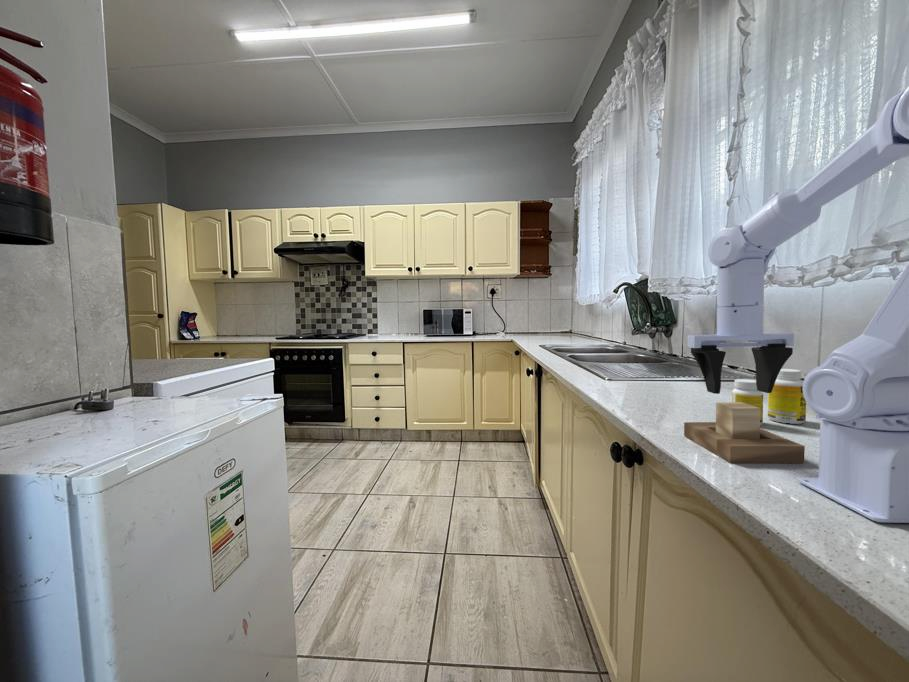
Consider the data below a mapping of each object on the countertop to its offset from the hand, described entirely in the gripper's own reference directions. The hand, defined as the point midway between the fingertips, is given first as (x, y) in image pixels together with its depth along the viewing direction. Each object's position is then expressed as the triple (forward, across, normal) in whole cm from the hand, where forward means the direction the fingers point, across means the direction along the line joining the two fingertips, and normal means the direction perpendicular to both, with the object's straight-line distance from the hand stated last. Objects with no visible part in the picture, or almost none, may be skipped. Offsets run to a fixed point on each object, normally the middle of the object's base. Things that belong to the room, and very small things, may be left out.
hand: (738, 392), depth 57 cm
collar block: (+9, 0, 0) cm, 9 cm away
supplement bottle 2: (+9, -19, -15) cm, 26 cm away
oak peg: (+9, 0, 0) cm, 9 cm away
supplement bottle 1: (+9, -11, -14) cm, 20 cm away
